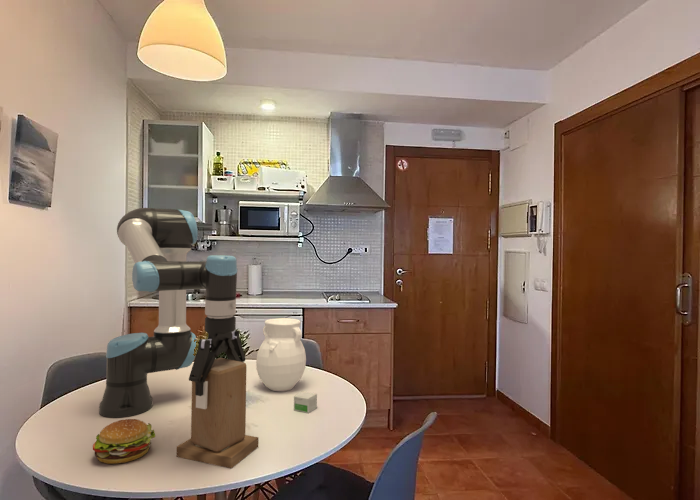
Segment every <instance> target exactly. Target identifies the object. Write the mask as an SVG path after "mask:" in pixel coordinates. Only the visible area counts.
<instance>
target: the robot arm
mask: <svg viewBox="0 0 700 500" xmlns="http://www.w3.org/2000/svg"><path fill="white" fill-rule="evenodd" d="M198 232H199V231H198V225H197V221H196V218H195V216H194V214H193V213H192V212H191V211H189V210H183V209H177V208H176V209H171V208H155V207H154V208H153V207H139V208H135V209H132V210H131V211H128V212H127V213H126V214H124V215H123V216H122V217H121V219H119V221H118V223H117V226H116V233H117V234H116V235H117V238H118V239H119V241H120V243H122V245H124V246H126V247H127V249H128V251H129V253H130V255H131V258H132V260H133V261H134V264H133V266H132V273H131V274H132V275H131V278H132V280H131V281H132V286H133V288H134V290H135V291H137V292H149V293H151V292H158V325H157V327H155V329H154V330H153V335H152V336H149V335H148V333H146V332H134V333H128V334H127V333H126V334H123V335H119V336H115V337H114V338H112V339H110V340H108V343H107V346H106V353H105V358H106V374H105V378H106V379H105V381H106V382H105V389H104V392H103V396H102V398H101V399H102V400H101V401H100V402H99V407H98V408H99V409H98V410H99V411H98V413H99V415H100V416H103V417H106V418H126V417H133V416H137V415H139V414H142V413H145V412H147V411H149V410H151V409H152V408H153V396H152V395H151V391H150V388H149V385H148V374H152V373H158V372H165V371H173V370H175V371H177V370H180V369H183V368H184V369H185V368H188V367H190V366H191V365H192V367H191V370H190V373H189V375H188V376H189V377H188V381H189V382H192V381H194V382H195V394H196V408H201V409H206V408H207V391H208V381H205V380H206V378H207V376H208V373H209V371H210V369H211V367H212V365H213V362H214V360H215V359H217V358H219V355H221V354H222V353H224V354H225V356H226V357H227V359H230V360H235V361H240V362H244V363H245V362H246V356H245V352H244V349H243V346H242V341H241V338H240V331H239V330H236V328H237V327H236V324H237V322H236V320H237V319H236V317H235V315H236V313H237V312H236V311H237V309H236V307H237V284H238V283H237V282H238V280H237V279H238V262H237V258H236V257H235V256H234V255H227V254H226V255H220V254H215V255H213V254H211V255H208V256H207V257H206V260H202V259H201V260H198V261H197V260H196V261H195V260H193V261H192V260H191V261H189V260H188V261H187V254H188V253H189V252H190V251H191V250H192V246H193V245H195V244H196V243H197V241H198V234H199V233H198ZM187 290H205V298H204V299H205V301H204V302H205V304H204V306H205V307H204V315H206V316H205V319H204V331H205V332H206V333H207V334H208V336H207V339H203V338H200V339H199V340H198V344H197V350H196V355H195V356H194V355H193V354H194V349H195V347H196V342H197V336H196V334H195V333H193V332H192V331H191V330H192V329H191V327H190V326H189V325H188V324H187ZM195 338H196V339H195ZM194 340H196V341H195V342H194ZM201 376H202V377H201Z"/></svg>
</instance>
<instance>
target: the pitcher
mask: <svg viewBox="0 0 700 500" xmlns="http://www.w3.org/2000/svg"><path fill="white" fill-rule="evenodd" d="M300 327H301V320H300V319H297V318H289V317H288V318H287V317H283V318H282V317H281V318H269V319H266V320H264V325H263V328H262V332H263V335H264V340H263V341H262V343H261V344H260V346H259V349H258V351H257V354H256V362H255V363H256V364H255V367H256V372H257V375H258V378H259V379H260V380H261V382H262V383H263V385H264V386H265V387H266V388H267V389H268V390H270V391H272V392H286V391H290V390H292V389H293V388H294V387H295V386H296V385H297V384H298V382H299V381H300V380H301V378H302V377H303V375H304V373H305V369H306V367H307V366H306V365H307V364H306V363H307V356H306V355H307V354H306V349H305V347H304V344H303V342H302V340H301V339H302V336H303V334H302V333H303V332H302V329H301V328H300Z"/></svg>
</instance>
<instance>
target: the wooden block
mask: <svg viewBox="0 0 700 500" xmlns="http://www.w3.org/2000/svg"><path fill="white" fill-rule="evenodd" d="M201 377H202V376H201ZM205 381H208V391H207V408H206V409H201V408H196V394H195V382H194V381H191V410H190V411H191V412H190V413H191V416H190V417H191V418H190V419H191V420H190V421H191V423H190V438H191V441H192V443H193V444H196V445H199V446H201V447H204V448H207V449H210V450H213V451H221V450H223V449H225V448H226V447H228V446H230V445H232V444H234V443H236V442H238V441H240V440H242V439H244V438H245V435H246V426H247V425H246V424H247V423H246V422H247V421H246V420H247V417H246V416H247V414H246V413H247V411H246V410H247V364H246V363H245V361H244V362H240V361H235V360H230V359H228V358H223V357H217V358H215V360H214V362H213V365H212V367H211V369H210V371H209V373H208V376H207V378H206V380H205Z"/></svg>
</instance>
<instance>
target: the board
mask: <svg viewBox="0 0 700 500" xmlns="http://www.w3.org/2000/svg"><path fill="white" fill-rule="evenodd" d="M257 448H259V437H257V436H254V435H247V434H245V438H244V439H242V440H240V441H238V442H236V443H234V444H232V445H230V446H228V447H226V448H225V449H223V450H221V451H213V450H210V449H207V448H204V447H201V446H199V445H196V444H193V443H192V441H191V437H190V438H189V439H187V440H185V441H184V442H182V443H180V444H179V445H176V452H175V453H176V458H181V459H186V460H189V461H190V460H191V461H195V462H199V463H205V464H209V465H213V466H217V467H218V466H220V467H224V468H229V469H233V468H234V467H236V465H238V463H240V462H241V461H243V460H244V459H245V458H246V457H248V456H249V455H250V454H251V453H253V452H254V451H255V450H257Z"/></svg>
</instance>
